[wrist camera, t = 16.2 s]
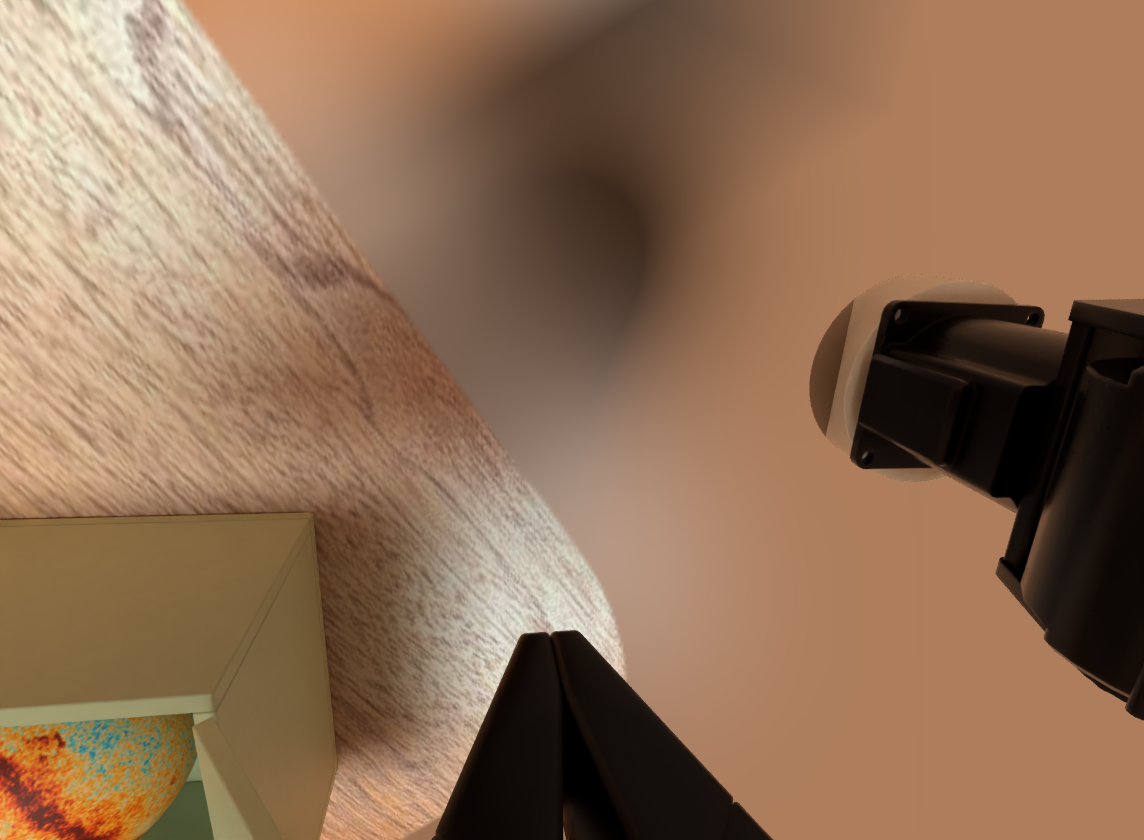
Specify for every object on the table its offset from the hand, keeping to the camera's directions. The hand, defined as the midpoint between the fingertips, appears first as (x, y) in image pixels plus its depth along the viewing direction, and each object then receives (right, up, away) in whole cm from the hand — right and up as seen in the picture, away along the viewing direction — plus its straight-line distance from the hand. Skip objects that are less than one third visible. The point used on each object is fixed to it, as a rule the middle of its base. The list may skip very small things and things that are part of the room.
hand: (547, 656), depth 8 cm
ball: (-16, -5, +13) cm, 21 cm away
